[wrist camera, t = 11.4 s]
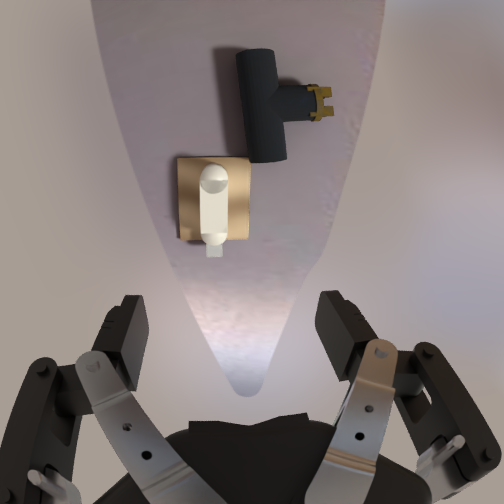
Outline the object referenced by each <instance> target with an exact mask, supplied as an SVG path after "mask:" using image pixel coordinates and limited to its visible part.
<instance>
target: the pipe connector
mask: <svg viewBox="0 0 504 504" xmlns="http://www.w3.org/2000/svg"><path fill="white" fill-rule="evenodd" d="M236 62H237V70H238V77H239V85H240V93H241V100H242V108H243V116H244V124H245V132H246V140H247V147H248V155H249V162H250V163H268V162H277V161H282V160H286V159H287V153H286V143H285V134H284V125H283V122H289V121H306V120H311V121H320V120H321V119H322V117H327V116H334V110H333V106H324V101H323V99H324V98H325V97H332V92H331V87H319V86H318V85H317V84H308V85H294V86H279V83H278V76H277V69H276V62H275V55H274V51H273V50H271V49H250V50H245V51H242V52H239V53H237V54H236Z"/></svg>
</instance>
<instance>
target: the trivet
mask: <svg viewBox="0 0 504 504" xmlns="http://www.w3.org/2000/svg"><path fill="white" fill-rule="evenodd" d="M177 159H178V200H179V222H180V239H181V240H203V239H202V237H201V225H200V176H201V173H202V171H203V169H204V167H205V166H207V165H208V164H210V163H218V164H221V165H222V166H223V167H224V168H225V169H226V172H227V176H228V234H227V238H226V240H232V239H248V229H249V199H250V171H251V163H250V162H249V157H193V158H177Z"/></svg>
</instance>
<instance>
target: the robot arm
mask: <svg viewBox="0 0 504 504" xmlns="http://www.w3.org/2000/svg"><path fill="white" fill-rule="evenodd" d="M148 326H149V325H148V319H147V315H146V310H145V305H144V300H143V297H142V295H126V296H125V297H124V299H123V301H122V303H121V306H114V307H113V308H112V309H111V310H110V311H109V312H108V313H107V315H106V317H105V320H104V322H103V324H102V326H101V329H100V331H99V333H98V335H97V338H96V340H95V342H94V345H93V347H92V349H91V351H89V352H86V353H84V354H82V355H81V356H80V357H79V358H78V359H77V361H76V364H72V365H66V366H57V364H56V362H55V361H54V360H53V359H51V358H48V357H43V358H39V359H37V360H36V361H34V362H33V363H32V364H31V366H30V367H29V369H28V372H27V374H26V376H25V379H24V381H23V383H22V386H21V388H20V391H19V393H18V396H17V398H16V401H15V404H14V407H13V409H12V412H11V415H10V418H9V421H8V424H7V427H6V430H5V433H4V437H3V440H2V444H1V447H0V504H82V503H81V496H80V492H79V490H78V489H77V488H76V486H75V485H74V484H73V483H72V474H73V466H74V458H75V453H76V446H77V440H78V435H79V429H80V424H81V420H82V415H87V414H95V416H96V418H97V420H98V422H99V424H100V426H101V428H102V430H103V431H104V433H105V435H106V437H107V439H108V440H109V442H110V444H111V445H112V447H113V449H114V450H115V452H116V454H117V455H118V457H119V458H120V460H121V462H122V463H123V465H124V466H125V468H126V469H127V471H128V473H127V474H126V475H125V476H124V477H122V478H121V479H120V480H119V481H118V482H117V483H116V484H115V485H114V486H113V487H111V488H110V489H109V490H108V491H107V492H106V493H105V494H104V495H103V496H101V497H100V498H99V499H98V500H97V501H95V502H94V503H93V504H433V503H435V502H437V501H439V500H440V499H448V498H450V497H452V496H454V495H456V494H457V493H459V492H461V491H462V490H464V489H466V488H467V487H469V486H470V485H472V484H473V483H475V482H476V481H478V480H479V479H481V478H482V477H484V476H485V475H487V474H488V473H489V472H491V471H492V470H493V469H495V468H496V467H497V466H498V464H499V463H500V460H501V449H500V446H499V444H498V442H497V440H496V439H495V437H494V435H493V433H492V431H491V429H490V428H489V426H488V424H487V422H486V421H485V419H484V417H483V415H482V414H481V412H480V410H479V409H478V407H477V405H476V404H475V403H474V401H473V399H472V397H471V396H470V394H469V393H468V391H467V389H466V388H465V386H464V385H463V383H462V382H461V380H460V379H459V377H458V376H457V374H456V373H455V371H454V370H453V368H452V367H451V365H450V364H449V363H448V361H447V360H446V358H445V357H444V356H443V354H442V353H441V351H440V350H439V349H438V348H437V347H436V346H435V345H433V344H431V343H428V342H420V343H418V344H417V345H416V346H415V348H414V350H413V351H398V350H397V349H396V347H395V346H394V345H393V344H392V343H391V342H389V341H387V340H383V339H379V338H378V337H377V335H376V334H375V332H374V331H373V329H372V328H371V326H370V325H369V323H368V322H367V320H365V317H364V316H363V315H362V314H361V312H360V310H359V309H358V308H357V306H356V305H355V304H353V303H352V302H350V301H349V300H344V298H343V297H342V295H341V294H340V293H339V291H338V290H333V291H322V292H321V294H320V298H319V302H318V307H317V312H316V316H315V327H316V331H317V333H318V335H319V337H320V340H321V342H322V344H323V346H324V348H325V350H326V353H327V355H328V357H329V359H330V362H331V364H332V366H333V368H334V370H335V373H336V375H337V377H338V379H339V382H340V381H345V380H349V382H350V385H349V388H348V390H347V393H346V395H345V398H344V400H343V403H342V405H341V408H340V410H339V412H338V414H337V417H336V419H335V421H334V423H333V425H330V424H327V423H323V422H319V421H314V420H309V418H308V415H307V413H301V414H294V415H287V416H279V417H276V418H273V419H270V420H267V421H264V422H261V423H258V424H254V425H250V426H248V425H240V424H233V423H228V422H221V421H189V429H185V430H181V431H178V432H176V433H173V434H171V435H169V436H168V437H166V438H164V437H163V436H162V434H161V433H160V432H159V431H158V429H157V428H156V427H155V425H154V424H153V423H152V421H151V420H150V419H149V417H148V416H147V415H146V413H145V412H144V410H143V409H142V408H141V406H140V405H139V403H138V402H137V400H136V399H135V397H134V396H133V394H132V393H131V392H130V391H136V389H137V384H138V379H139V375H140V370H141V365H142V360H143V356H144V352H145V347H146V343H147V339H148V334H149V327H148ZM424 386H425V388H426V390H427V392H428V393H429V395H430V397H431V401H432V404H430V402H429V401H428V399H427V397H426V395H425V393H424V392H423V390H422V389H423V388H424ZM393 399H394V401H395V404H396V406H397V408H398V410H399V412H400V414H401V417H402V419H403V421H404V423H405V425H406V427H407V430H408V432H409V434H410V437H411V439H412V441H413V443H414V446H415V448H416V450H417V453H418V455H419V458H418V460H417V469H416V472H415V473H414V472H412V471H410V470H408V469H406V468H404V467H402V466H401V465H399V464H397V463H395V462H393V461H391V460H390V459H388V458H386V457H384V456H382V455H381V454H379V451H380V448H381V445H382V441H383V437H384V435H385V431H386V427H387V423H388V420H389V416H390V412H391V407H392V403H393Z"/></svg>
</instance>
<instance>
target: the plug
mask: <svg viewBox="0 0 504 504" xmlns="http://www.w3.org/2000/svg"><path fill="white" fill-rule="evenodd" d="M200 225H201V237H202V239H203V241H204V242H205V243H206V247H207V257H222V243H223V242H224V241H225V240H226V238H227V234H228V176H227V172H226V169H225V168H224V167H223V166H222V165H221V164H218V163H210V164H208V165H207V166H205V167H204V169H203V171H202V173H201V176H200Z"/></svg>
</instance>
